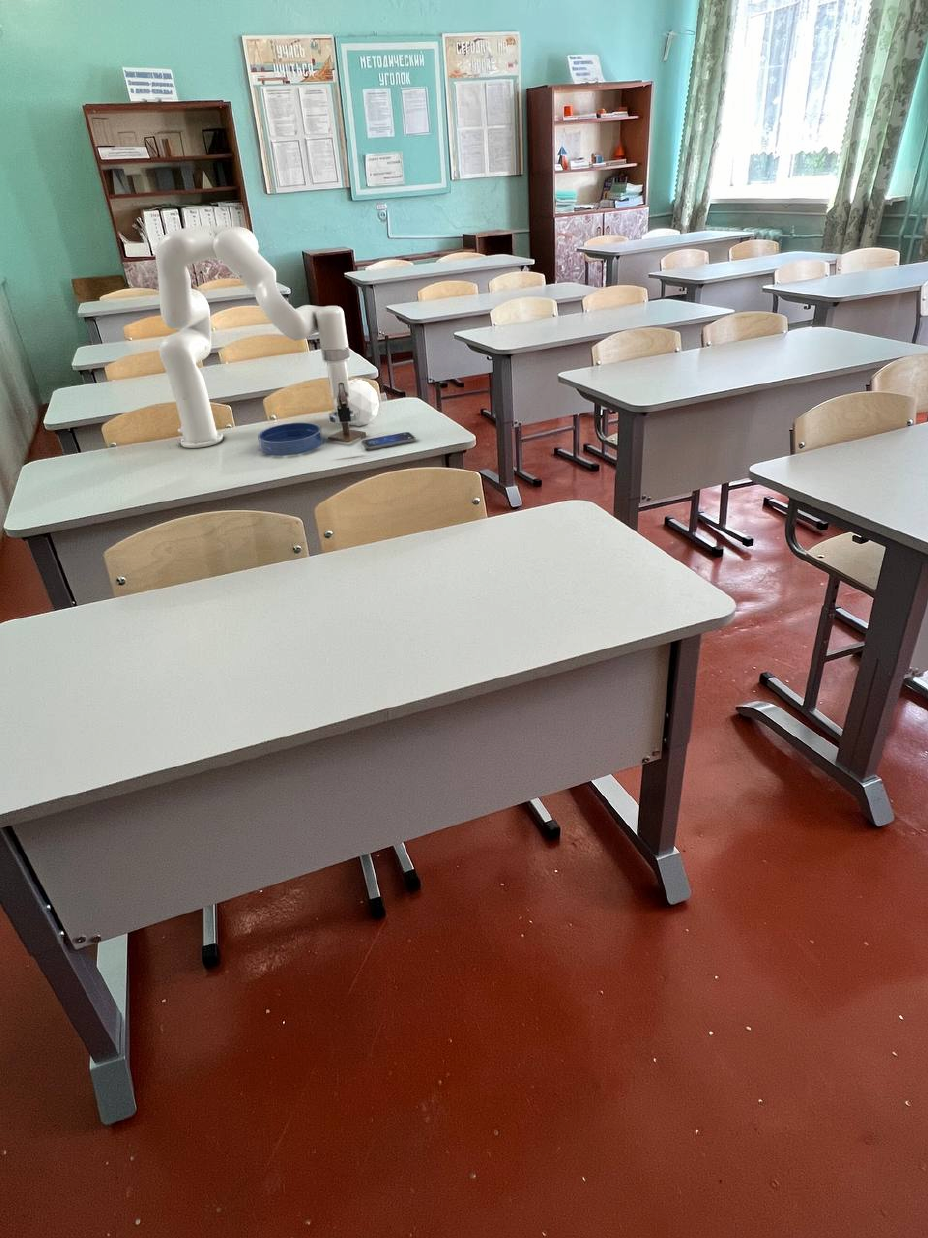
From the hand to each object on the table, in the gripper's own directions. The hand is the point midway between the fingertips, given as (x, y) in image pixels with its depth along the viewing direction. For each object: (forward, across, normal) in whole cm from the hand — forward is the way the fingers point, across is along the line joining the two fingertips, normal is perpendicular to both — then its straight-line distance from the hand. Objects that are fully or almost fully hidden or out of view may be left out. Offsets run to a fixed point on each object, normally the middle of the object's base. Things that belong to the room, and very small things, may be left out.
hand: (344, 419), depth 219 cm
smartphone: (+7, +5, +11) cm, 14 cm away
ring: (+1, -3, 0) cm, 3 cm away
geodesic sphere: (+7, -17, +5) cm, 19 cm away
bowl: (+7, -3, -16) cm, 18 cm away
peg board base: (+7, -3, 0) cm, 8 cm away
